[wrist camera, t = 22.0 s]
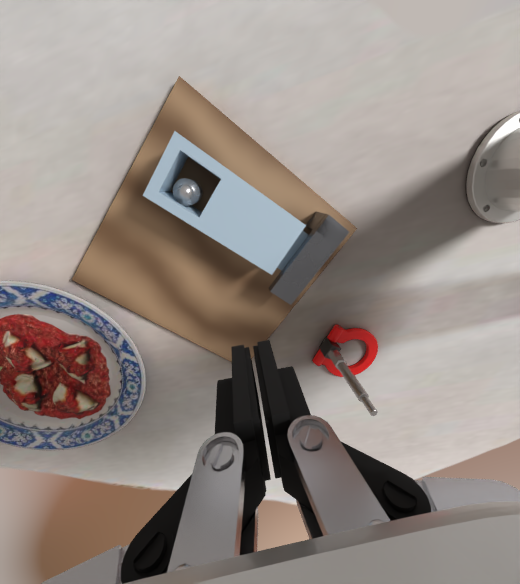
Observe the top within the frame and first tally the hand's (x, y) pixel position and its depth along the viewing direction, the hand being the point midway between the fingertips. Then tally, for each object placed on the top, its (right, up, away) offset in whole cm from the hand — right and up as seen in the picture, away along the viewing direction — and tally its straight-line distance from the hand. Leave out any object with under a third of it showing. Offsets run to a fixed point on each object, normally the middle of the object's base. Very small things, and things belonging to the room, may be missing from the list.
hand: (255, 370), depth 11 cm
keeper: (+5, +8, +20) cm, 22 cm away
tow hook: (+13, -5, +28) cm, 32 cm away
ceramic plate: (-28, -6, +23) cm, 37 cm away
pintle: (-7, +15, +17) cm, 24 cm away
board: (-5, +8, +20) cm, 22 cm away
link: (-2, +12, +18) cm, 22 cm away
